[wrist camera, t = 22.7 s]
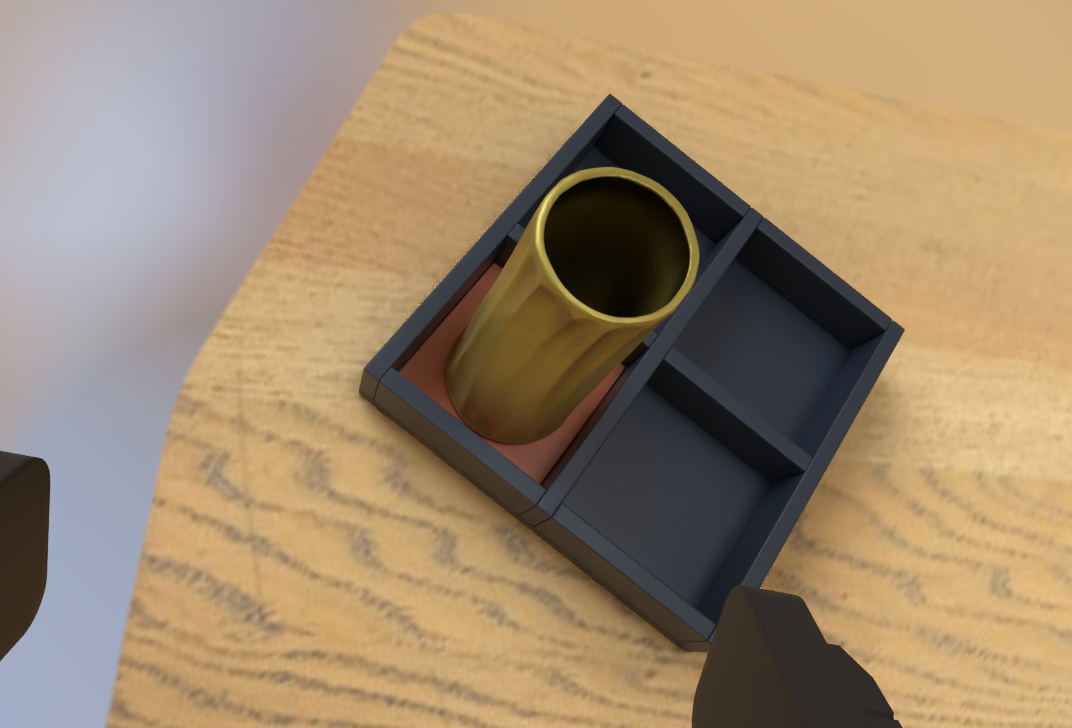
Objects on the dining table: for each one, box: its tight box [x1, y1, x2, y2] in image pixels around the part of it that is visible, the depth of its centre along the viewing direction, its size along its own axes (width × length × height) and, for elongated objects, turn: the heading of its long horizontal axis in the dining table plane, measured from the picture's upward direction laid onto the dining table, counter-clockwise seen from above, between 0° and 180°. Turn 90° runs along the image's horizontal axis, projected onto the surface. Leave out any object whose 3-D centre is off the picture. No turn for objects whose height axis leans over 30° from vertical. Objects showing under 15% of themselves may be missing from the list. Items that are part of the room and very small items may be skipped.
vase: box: [445, 167, 700, 444], centre depth 32 cm, size 6×6×14 cm
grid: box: [359, 94, 904, 652], centre depth 39 cm, size 18×18×4 cm
